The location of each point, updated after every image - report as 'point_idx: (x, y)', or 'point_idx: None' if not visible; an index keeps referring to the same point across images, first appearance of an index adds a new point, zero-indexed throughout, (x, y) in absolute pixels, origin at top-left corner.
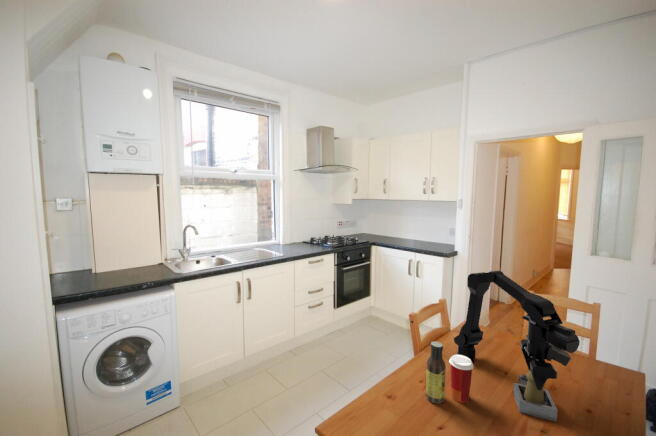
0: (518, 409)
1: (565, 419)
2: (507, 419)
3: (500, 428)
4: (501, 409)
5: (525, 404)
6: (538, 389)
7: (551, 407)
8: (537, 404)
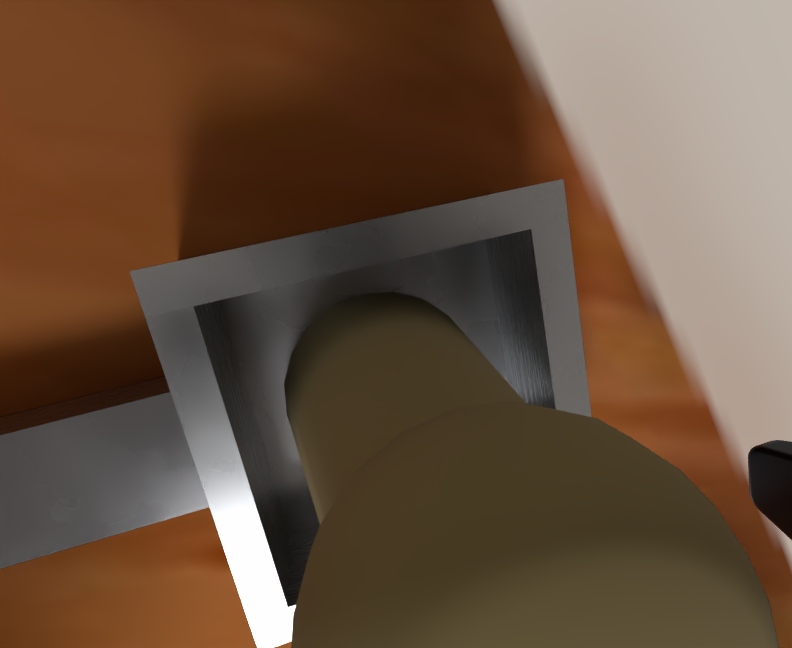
0: None
1: (405, 108)
2: None
3: (761, 536)
4: None
5: None
6: (781, 484)
7: (546, 241)
8: (571, 380)
